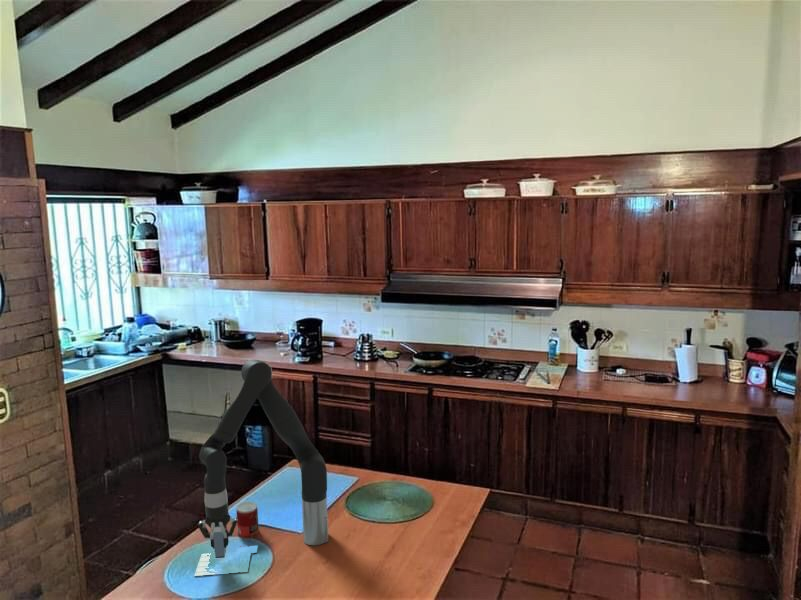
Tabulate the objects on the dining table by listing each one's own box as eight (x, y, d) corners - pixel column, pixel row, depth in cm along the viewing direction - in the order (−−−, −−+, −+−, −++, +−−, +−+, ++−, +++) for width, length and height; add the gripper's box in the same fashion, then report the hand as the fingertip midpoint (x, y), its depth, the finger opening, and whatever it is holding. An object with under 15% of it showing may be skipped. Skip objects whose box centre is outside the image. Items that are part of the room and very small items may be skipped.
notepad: (252, 550, 221) (252, 549, 221) (248, 572, 208) (247, 571, 208) (201, 554, 219) (201, 553, 218) (194, 577, 206) (194, 575, 206)
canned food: (253, 539, 228) (252, 512, 226) (234, 537, 230) (232, 510, 228) (262, 528, 235) (260, 502, 234) (243, 526, 237) (241, 500, 235)
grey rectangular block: (226, 552, 214) (223, 521, 212) (224, 557, 210) (222, 526, 208) (216, 553, 213) (214, 522, 211) (215, 558, 210) (212, 527, 208)
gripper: (238, 494, 213) (241, 539, 216) (197, 497, 211) (201, 542, 214) (235, 505, 205) (239, 551, 208) (193, 508, 204) (197, 555, 207)
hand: (219, 546), depth 211 cm, fingers closed on grey rectangular block, 3 cm apart
